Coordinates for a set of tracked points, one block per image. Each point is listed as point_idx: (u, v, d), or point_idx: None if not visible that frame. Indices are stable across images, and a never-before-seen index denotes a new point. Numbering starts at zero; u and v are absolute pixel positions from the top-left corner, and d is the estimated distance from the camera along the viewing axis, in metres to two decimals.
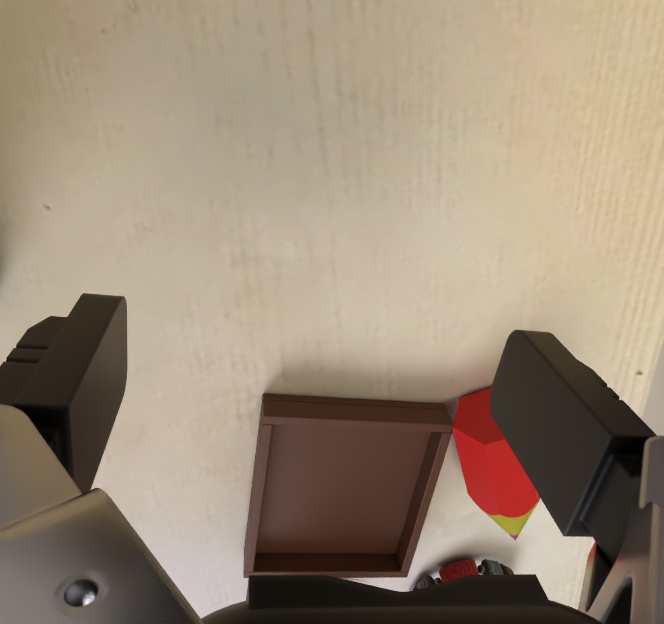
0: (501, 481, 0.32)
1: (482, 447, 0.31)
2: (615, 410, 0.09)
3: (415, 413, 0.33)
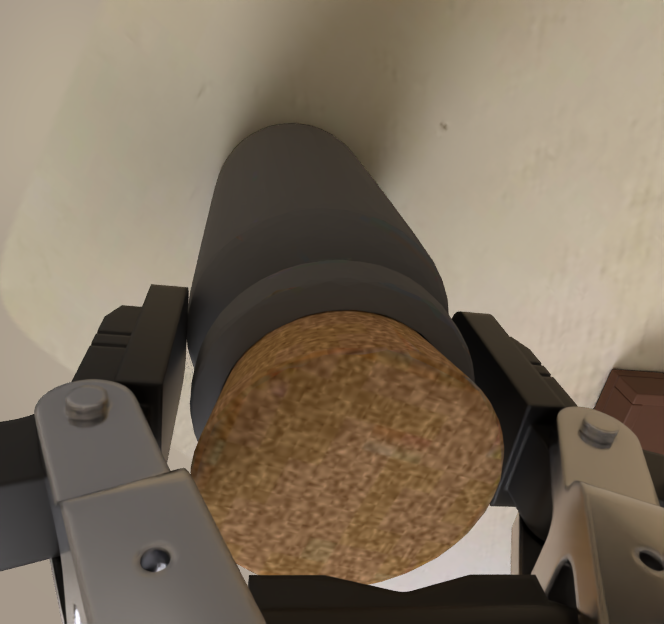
0: None
1: None
2: (538, 384, 0.10)
3: None
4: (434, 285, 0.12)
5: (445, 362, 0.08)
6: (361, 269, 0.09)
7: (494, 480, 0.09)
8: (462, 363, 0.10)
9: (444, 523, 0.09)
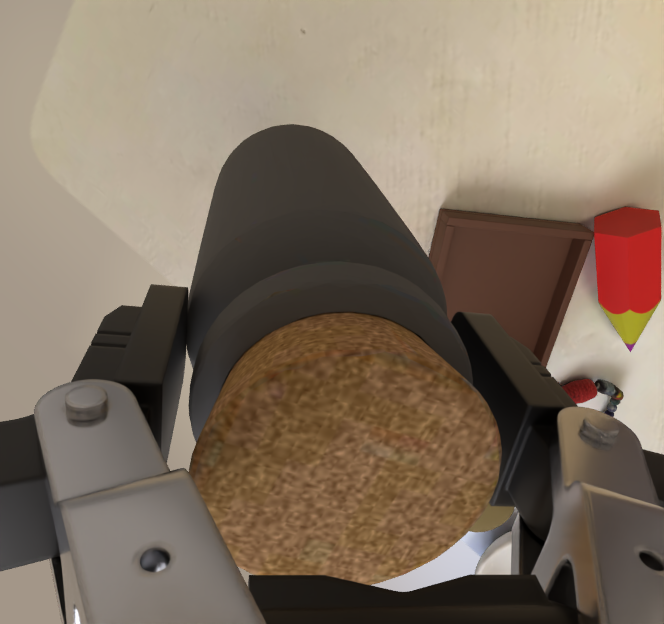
0: (635, 275, 0.40)
1: (624, 241, 0.38)
2: (538, 384, 0.10)
3: (561, 225, 0.41)
4: (432, 286, 0.12)
5: (442, 364, 0.08)
6: (359, 271, 0.09)
7: (492, 481, 0.09)
8: (459, 364, 0.10)
9: (442, 524, 0.09)
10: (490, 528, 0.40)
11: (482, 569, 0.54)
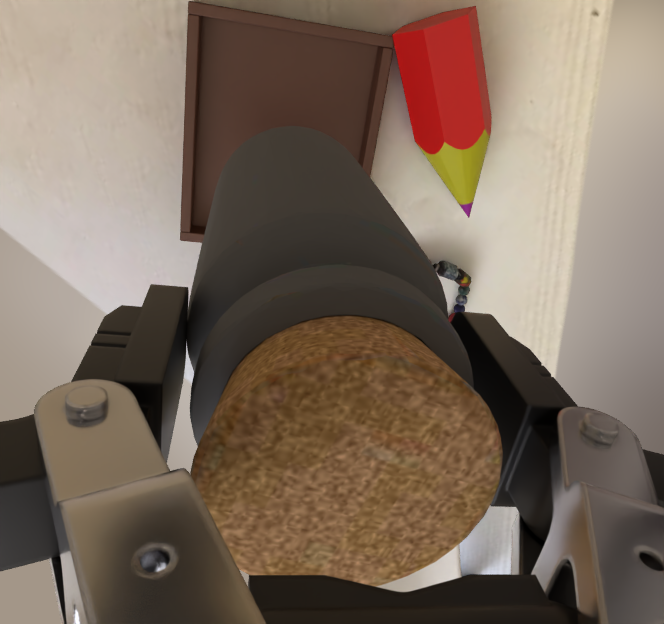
0: (444, 89, 0.30)
1: (422, 36, 0.29)
2: (538, 384, 0.10)
3: None
4: (433, 289, 0.12)
5: (444, 368, 0.08)
6: (360, 274, 0.09)
7: (493, 485, 0.09)
8: (461, 367, 0.10)
9: (443, 527, 0.09)
10: None
11: None
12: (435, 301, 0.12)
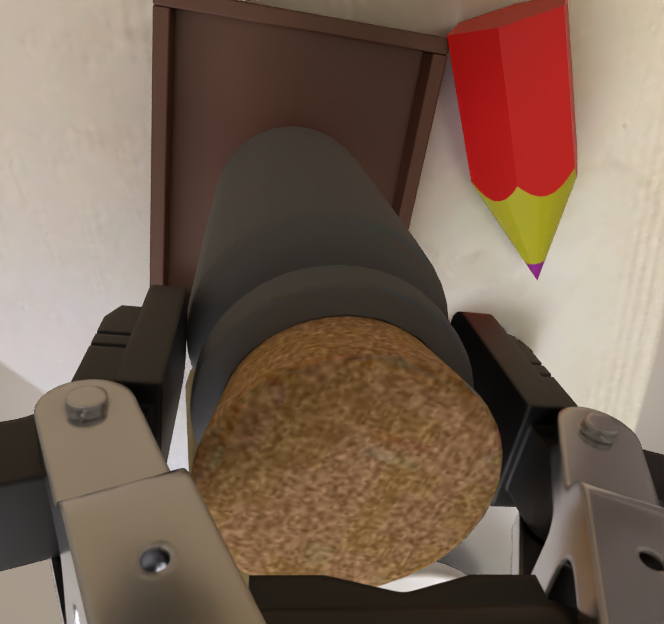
0: (522, 114, 0.21)
1: (495, 37, 0.20)
2: (538, 384, 0.10)
3: None
4: (433, 289, 0.12)
5: (444, 368, 0.08)
6: (360, 274, 0.09)
7: (492, 485, 0.09)
8: (461, 367, 0.10)
9: (443, 528, 0.09)
10: None
11: None
12: (435, 301, 0.12)
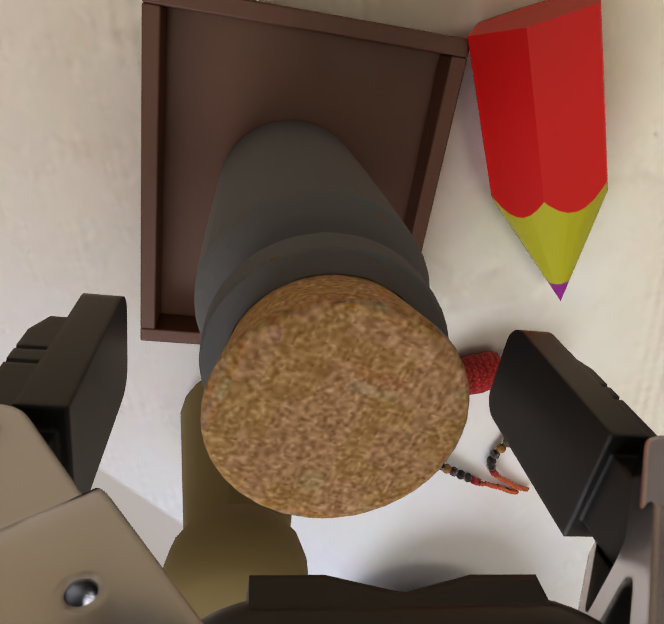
0: (551, 123, 0.19)
1: (522, 38, 0.18)
2: (615, 410, 0.09)
3: None
4: (415, 260, 0.13)
5: (416, 312, 0.09)
6: (347, 239, 0.11)
7: (461, 419, 0.10)
8: (436, 323, 0.11)
9: (419, 458, 0.10)
10: None
11: None
12: (417, 271, 0.13)
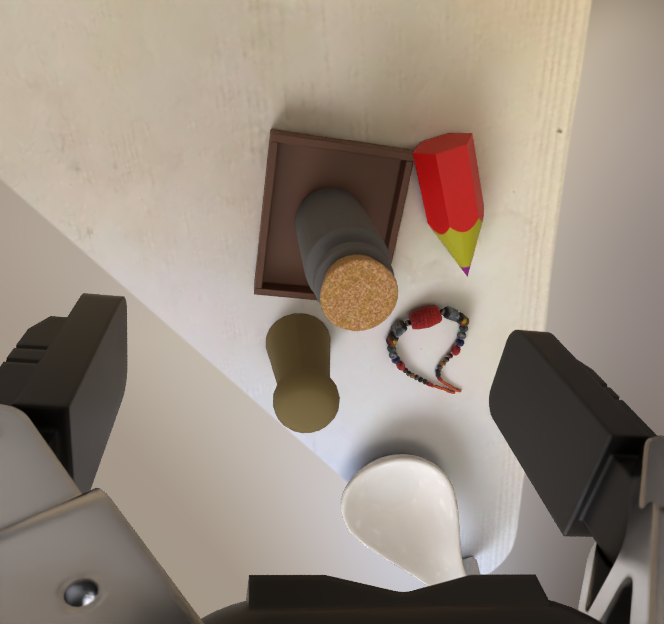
0: (450, 192, 0.43)
1: (434, 158, 0.42)
2: (615, 410, 0.09)
3: (386, 147, 0.44)
4: (385, 251, 0.37)
5: (381, 264, 0.33)
6: (361, 243, 0.34)
7: (395, 297, 0.33)
8: (389, 270, 0.35)
9: (383, 309, 0.34)
10: (314, 428, 0.43)
11: (346, 494, 0.56)
12: (385, 255, 0.37)
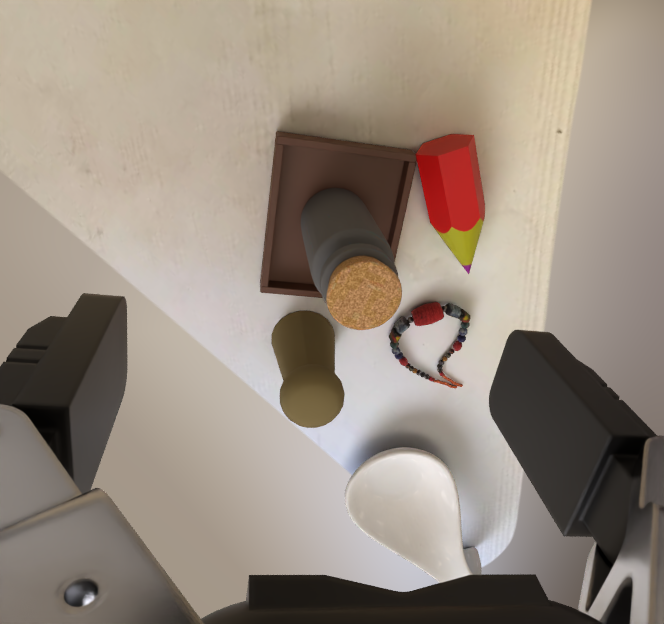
0: (452, 193, 0.44)
1: (436, 159, 0.42)
2: (615, 410, 0.09)
3: (389, 149, 0.45)
4: (389, 252, 0.38)
5: (386, 265, 0.34)
6: (366, 245, 0.35)
7: (399, 297, 0.35)
8: (393, 271, 0.36)
9: (387, 309, 0.35)
10: (320, 423, 0.44)
11: (350, 486, 0.58)
12: (389, 256, 0.38)
